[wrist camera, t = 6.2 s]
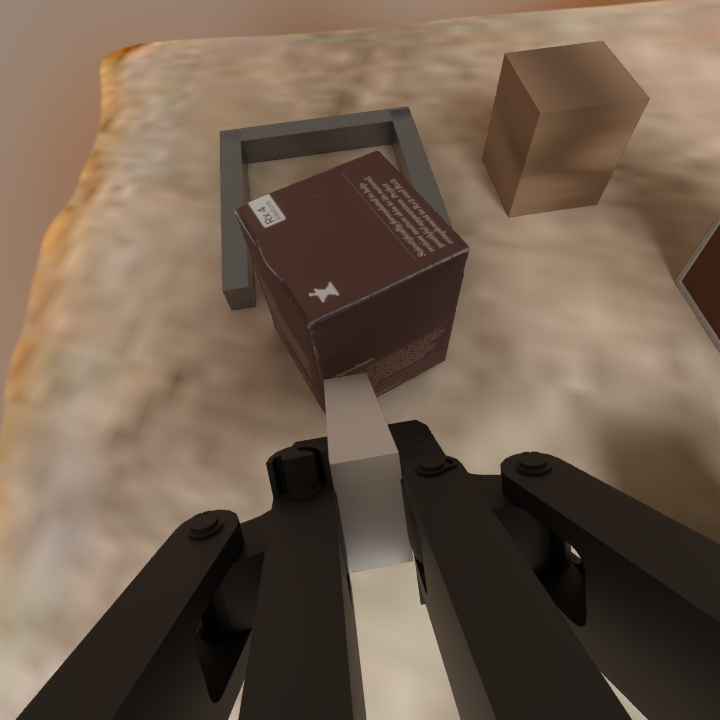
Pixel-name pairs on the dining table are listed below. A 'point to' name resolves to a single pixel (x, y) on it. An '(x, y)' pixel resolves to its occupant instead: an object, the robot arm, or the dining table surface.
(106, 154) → the dining table surface
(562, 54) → the walnut block
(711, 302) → the food container
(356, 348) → the box
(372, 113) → the corral
